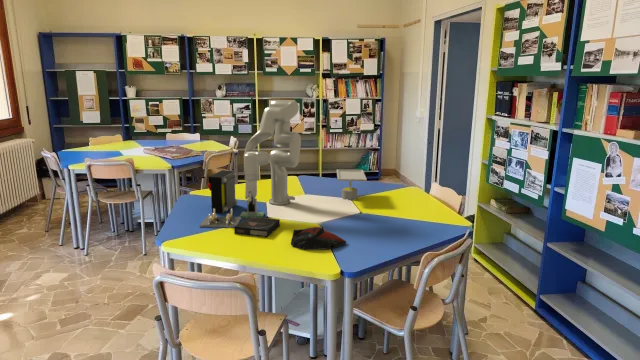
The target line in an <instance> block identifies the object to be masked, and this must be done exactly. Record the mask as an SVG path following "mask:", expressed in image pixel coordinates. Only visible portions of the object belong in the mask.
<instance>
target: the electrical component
mask: <svg viewBox="0 0 640 360" xmlns="http://www.w3.org/2000/svg"><path fill="white" fill-rule="evenodd" d="M237 175H238V174H237V173H236V172H235V171H234V170H225V169H224V170H223V169H222V170H220V171H217V172H215V173H214V174H211V175H209V176H208V183H207V187H208V190H209V191H210V194H211V195H210V197H211V198H210V199H211V214H213V208H215V213H216V214H224V213H226V212H228V210H231V209H232V208H233V207H235V206H236V205H237V204H238V200H237V199H236V179H235V178H236V177H238V176H237Z"/></svg>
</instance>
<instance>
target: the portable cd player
mask: <svg viewBox="0 0 640 360" xmlns="http://www.w3.org/2000/svg"><path fill="white" fill-rule="evenodd" d="M280 227H281V219H278V218H270V217H269V218H268V217H263V218H260V217H251V216H249V217H248V218H244V219H243V220H242V221H240V222H239V224H238V225H236V226H235V228H234V230H233V231H234V232H233V233H234V235H241V236H250V237H258V238H269V237H270V236H271V235H272V234H273V233H274V232H276V230H278V229H279V228H280Z"/></svg>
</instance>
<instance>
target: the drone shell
mask: <svg viewBox="0 0 640 360" xmlns="http://www.w3.org/2000/svg"><path fill="white" fill-rule="evenodd" d="M346 244H347V241H346V240H345V239H343V238H342V237H340V236H339V235H337V234H335V233H333V232H330V231H328V230H325V229H324V228H322V227H320V226H313V227H307V228H302V229H301V228H300V229H293V232H292V237H291V240H290V245H291V247H293V248H295V249H298V250H304V251H309V250H310V251H311V250H330V249H335V248H338V247H340V246H344V245H346Z"/></svg>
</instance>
